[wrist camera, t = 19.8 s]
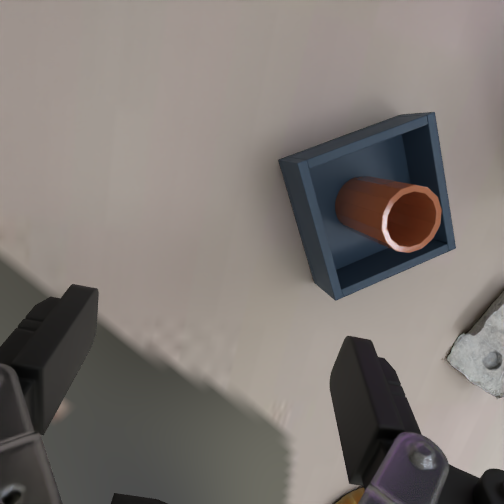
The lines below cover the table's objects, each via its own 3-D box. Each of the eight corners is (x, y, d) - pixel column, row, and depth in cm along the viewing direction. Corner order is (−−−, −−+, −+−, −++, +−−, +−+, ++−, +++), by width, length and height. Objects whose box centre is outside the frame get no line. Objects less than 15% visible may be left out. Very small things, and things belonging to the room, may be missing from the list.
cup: (341, 171, 38) (391, 179, 30) (391, 181, 39) (450, 192, 32) (328, 226, 39) (373, 248, 31) (376, 234, 40) (430, 256, 33)
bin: (314, 282, 41) (335, 300, 36) (278, 159, 37) (297, 163, 32) (423, 236, 43) (456, 248, 38) (400, 114, 39) (435, 111, 34)
